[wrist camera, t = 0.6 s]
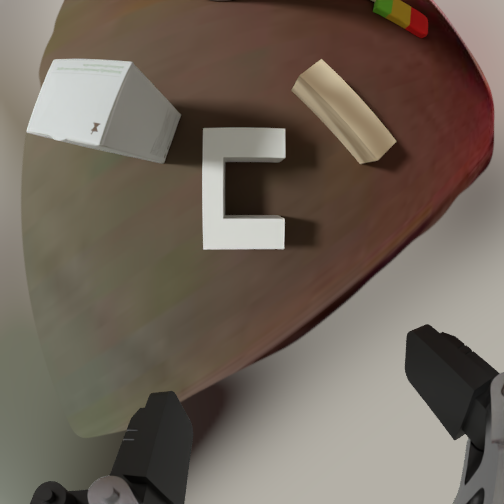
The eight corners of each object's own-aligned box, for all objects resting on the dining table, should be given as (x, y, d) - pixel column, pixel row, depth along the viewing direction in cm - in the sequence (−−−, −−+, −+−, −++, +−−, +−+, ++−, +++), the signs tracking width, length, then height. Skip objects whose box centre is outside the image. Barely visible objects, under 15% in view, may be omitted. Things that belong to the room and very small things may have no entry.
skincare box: (182, 115, 29) (140, 58, 14) (163, 168, 30) (103, 150, 15) (121, 102, 28) (53, 54, 13) (103, 152, 29) (21, 133, 14)
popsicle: (422, 42, 28) (428, 37, 26) (335, -4, 26) (339, -10, 24) (423, 21, 27) (429, 17, 25) (341, -22, 25) (345, -28, 23)
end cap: (207, 136, 30) (203, 128, 25) (278, 137, 30) (285, 128, 26) (208, 241, 32) (203, 249, 28) (277, 241, 33) (284, 248, 28)
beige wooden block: (310, 75, 29) (321, 59, 24) (376, 146, 31) (396, 141, 26) (290, 90, 29) (299, 75, 24) (359, 164, 31) (377, 160, 27)
